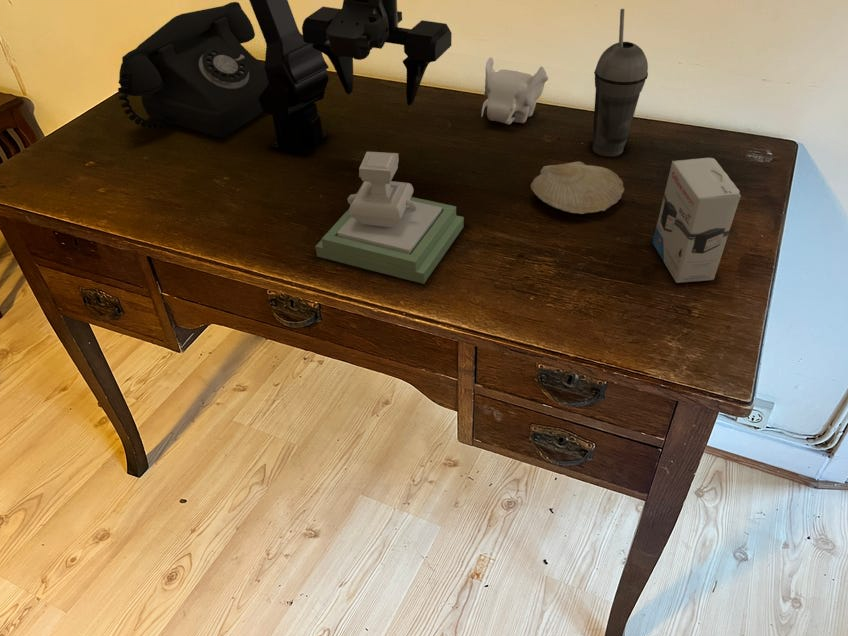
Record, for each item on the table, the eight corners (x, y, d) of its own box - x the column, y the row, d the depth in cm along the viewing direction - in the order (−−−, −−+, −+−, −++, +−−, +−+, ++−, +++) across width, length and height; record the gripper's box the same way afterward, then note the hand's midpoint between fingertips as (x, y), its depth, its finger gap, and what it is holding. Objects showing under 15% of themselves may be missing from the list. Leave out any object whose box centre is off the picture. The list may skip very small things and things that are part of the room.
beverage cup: (633, 162, 107) (662, 20, 93) (582, 159, 108) (603, 18, 94) (632, 138, 112) (659, 0, 98) (583, 135, 113) (603, -2, 99)
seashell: (596, 233, 95) (599, 214, 93) (515, 206, 100) (517, 188, 98) (631, 192, 101) (635, 173, 99) (554, 169, 106) (556, 151, 104)
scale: (316, 256, 94) (313, 237, 92) (363, 204, 102) (361, 185, 100) (424, 284, 89) (423, 264, 87) (463, 227, 97) (464, 207, 95)
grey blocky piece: (423, 208, 94) (421, 148, 89) (410, 237, 90) (408, 176, 84) (356, 201, 96) (351, 142, 90) (341, 229, 92) (334, 169, 86)
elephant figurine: (465, 128, 116) (466, 73, 110) (497, 98, 123) (500, 44, 117) (521, 141, 113) (525, 85, 106) (550, 109, 120) (556, 54, 114)
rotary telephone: (235, 69, 137) (217, -17, 126) (310, 87, 130) (298, -2, 119) (111, 140, 119) (79, 46, 108) (190, 165, 112) (164, 68, 101)
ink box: (650, 242, 93) (670, 158, 84) (688, 239, 93) (712, 155, 85) (674, 284, 87) (698, 198, 78) (715, 281, 87) (743, 194, 79)
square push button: (338, 242, 93) (336, 232, 91) (373, 202, 99) (372, 192, 98) (409, 260, 89) (409, 250, 88) (441, 217, 96) (441, 207, 94)
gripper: (269, -14, 86) (289, 112, 97) (414, 5, 79) (417, 138, 90) (317, -43, 93) (330, 78, 104) (454, -27, 86) (452, 100, 97)
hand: (379, 98), depth 99 cm, fingers open, 9 cm apart
